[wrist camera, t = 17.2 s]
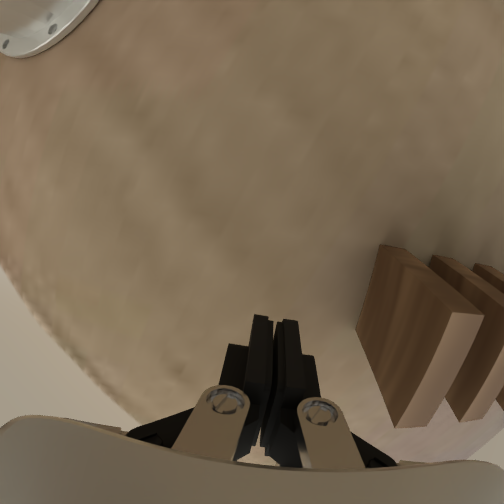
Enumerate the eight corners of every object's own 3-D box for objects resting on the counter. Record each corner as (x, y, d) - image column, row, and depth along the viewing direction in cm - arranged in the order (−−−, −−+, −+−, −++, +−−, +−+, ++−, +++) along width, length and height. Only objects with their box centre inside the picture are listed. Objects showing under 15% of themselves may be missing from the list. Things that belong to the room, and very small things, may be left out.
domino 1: (355, 330, 20) (394, 428, 11) (379, 244, 18) (452, 312, 9) (379, 332, 20) (426, 426, 11) (405, 249, 18) (484, 315, 9)
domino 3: (447, 337, 20) (505, 414, 11) (475, 263, 18) (556, 320, 9) (464, 338, 20) (522, 409, 11) (491, 266, 18) (570, 321, 9)
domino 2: (405, 334, 20) (459, 422, 11) (432, 254, 18) (516, 317, 9) (425, 335, 20) (482, 418, 11) (453, 258, 18) (536, 319, 9)
